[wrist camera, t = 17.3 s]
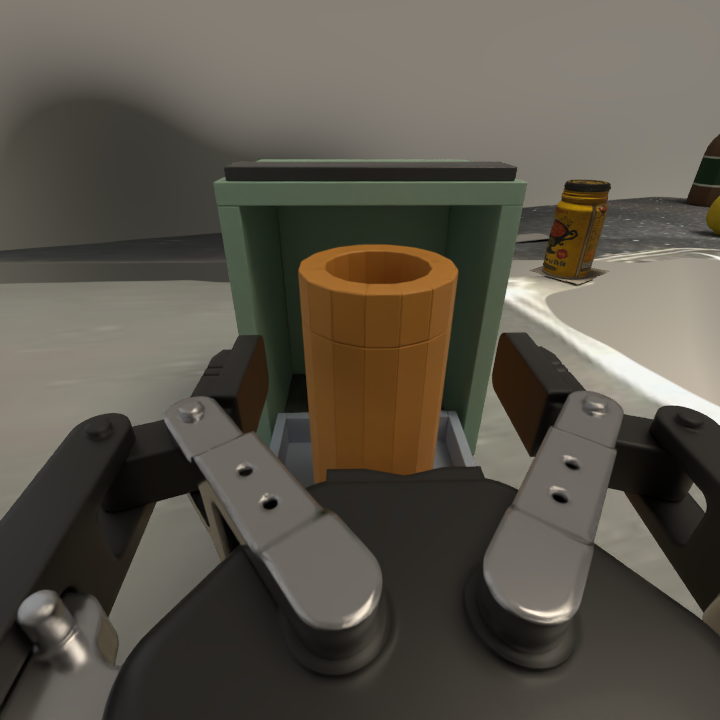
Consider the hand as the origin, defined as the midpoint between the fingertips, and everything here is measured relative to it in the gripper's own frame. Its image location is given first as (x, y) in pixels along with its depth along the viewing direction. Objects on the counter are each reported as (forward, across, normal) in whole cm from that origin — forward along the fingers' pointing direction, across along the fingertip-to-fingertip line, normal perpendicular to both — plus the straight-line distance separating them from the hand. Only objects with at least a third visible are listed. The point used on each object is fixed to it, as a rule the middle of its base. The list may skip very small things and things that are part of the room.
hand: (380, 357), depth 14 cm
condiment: (+44, -30, +12) cm, 54 cm away
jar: (+3, 0, +11) cm, 11 cm away
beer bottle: (+95, -89, +12) cm, 131 cm away
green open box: (+13, 0, +12) cm, 18 cm away
